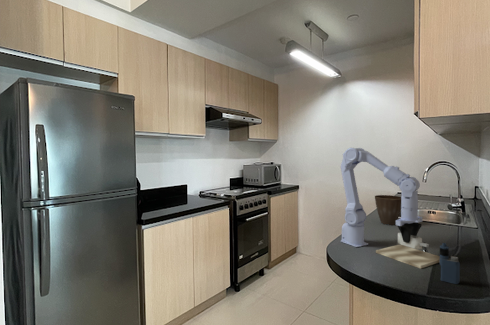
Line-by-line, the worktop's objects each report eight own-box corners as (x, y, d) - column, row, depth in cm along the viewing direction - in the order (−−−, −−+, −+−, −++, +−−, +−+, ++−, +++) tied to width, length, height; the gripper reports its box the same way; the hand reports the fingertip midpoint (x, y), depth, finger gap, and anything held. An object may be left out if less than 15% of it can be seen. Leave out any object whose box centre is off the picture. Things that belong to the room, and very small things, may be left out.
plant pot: (403, 222, 162) (403, 196, 162) (402, 228, 150) (402, 199, 149) (376, 219, 170) (376, 194, 170) (373, 224, 158) (373, 197, 157)
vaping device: (439, 277, 89) (439, 241, 89) (459, 282, 86) (460, 245, 86) (438, 280, 87) (439, 243, 87) (459, 285, 84) (460, 247, 84)
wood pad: (375, 252, 113) (375, 250, 113) (399, 246, 120) (399, 244, 120) (420, 268, 97) (420, 265, 97) (444, 260, 104) (444, 257, 104)
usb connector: (395, 243, 111) (395, 233, 111) (400, 241, 113) (400, 232, 113) (424, 251, 101) (425, 241, 101) (429, 250, 103) (429, 239, 103)
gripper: (408, 211, 101) (408, 247, 101) (430, 207, 108) (430, 241, 108) (390, 208, 107) (390, 242, 107) (412, 204, 114) (412, 236, 114)
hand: (409, 241), depth 108 cm, fingers closed on usb connector, 3 cm apart
